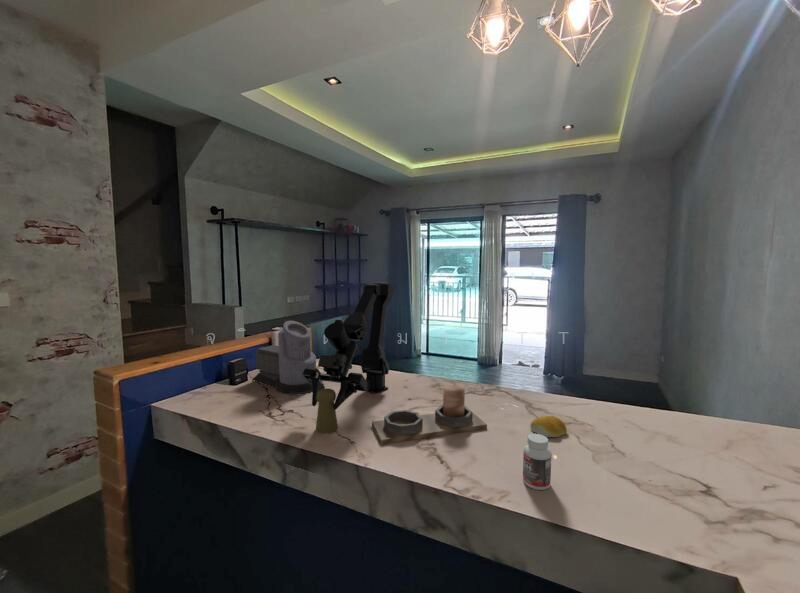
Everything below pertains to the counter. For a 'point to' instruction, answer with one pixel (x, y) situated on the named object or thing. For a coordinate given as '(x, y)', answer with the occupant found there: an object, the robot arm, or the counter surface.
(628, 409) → the counter surface
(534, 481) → the pill bottle
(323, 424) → the olive green peg
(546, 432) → the bread roll
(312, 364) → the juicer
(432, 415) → the rail
